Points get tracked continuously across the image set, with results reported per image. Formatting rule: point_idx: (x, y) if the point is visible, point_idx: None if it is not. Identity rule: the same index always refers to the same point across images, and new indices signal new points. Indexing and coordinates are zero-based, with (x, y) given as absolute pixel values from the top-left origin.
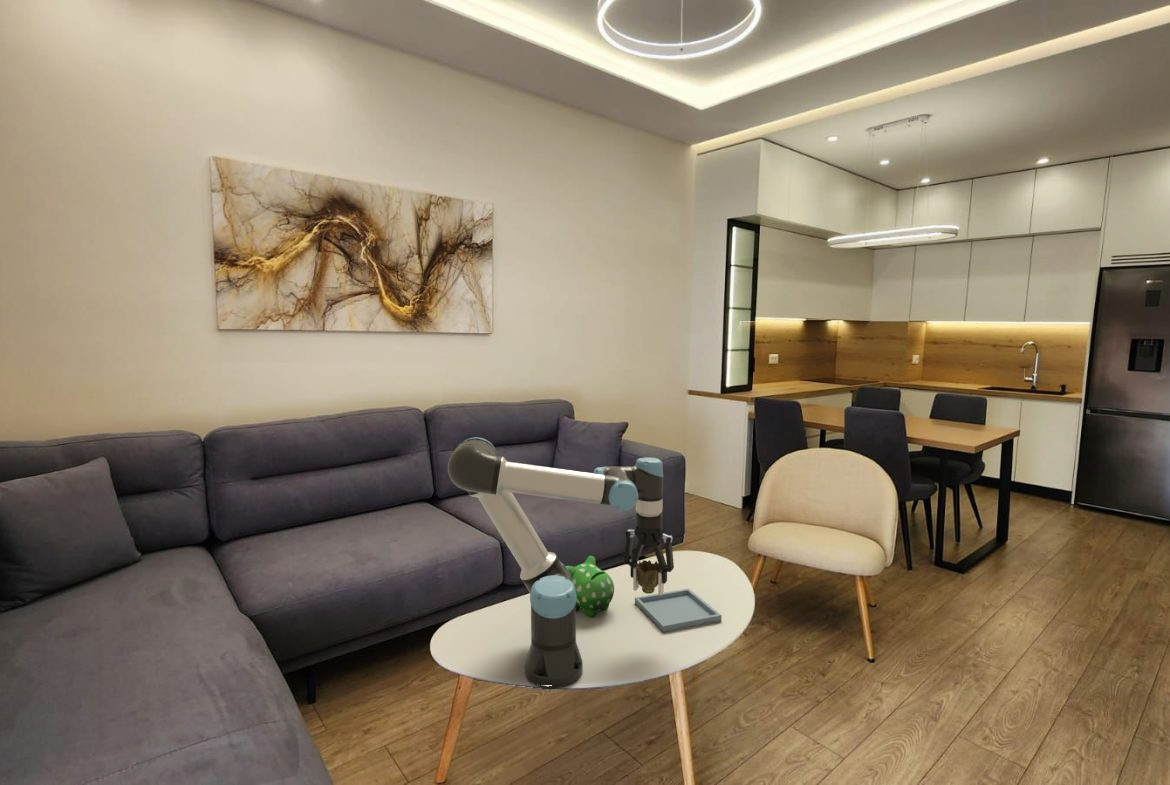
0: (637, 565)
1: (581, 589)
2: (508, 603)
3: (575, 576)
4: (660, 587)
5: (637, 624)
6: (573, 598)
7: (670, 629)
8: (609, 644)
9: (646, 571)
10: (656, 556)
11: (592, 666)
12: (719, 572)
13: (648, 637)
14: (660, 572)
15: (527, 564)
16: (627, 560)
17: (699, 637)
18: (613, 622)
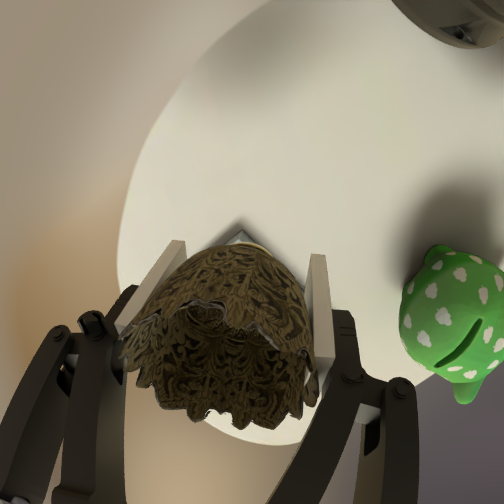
0: (308, 388)
1: (494, 280)
2: None
3: None
4: (156, 264)
5: (318, 248)
6: None
7: (225, 244)
8: (367, 122)
9: (263, 368)
10: (94, 438)
11: (370, 9)
12: (220, 418)
13: (271, 194)
14: (103, 321)
15: None
16: (392, 407)
17: (158, 237)
18: (382, 239)
